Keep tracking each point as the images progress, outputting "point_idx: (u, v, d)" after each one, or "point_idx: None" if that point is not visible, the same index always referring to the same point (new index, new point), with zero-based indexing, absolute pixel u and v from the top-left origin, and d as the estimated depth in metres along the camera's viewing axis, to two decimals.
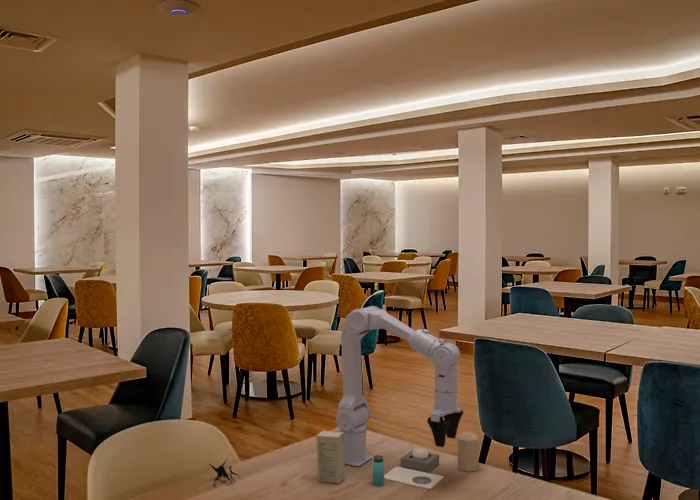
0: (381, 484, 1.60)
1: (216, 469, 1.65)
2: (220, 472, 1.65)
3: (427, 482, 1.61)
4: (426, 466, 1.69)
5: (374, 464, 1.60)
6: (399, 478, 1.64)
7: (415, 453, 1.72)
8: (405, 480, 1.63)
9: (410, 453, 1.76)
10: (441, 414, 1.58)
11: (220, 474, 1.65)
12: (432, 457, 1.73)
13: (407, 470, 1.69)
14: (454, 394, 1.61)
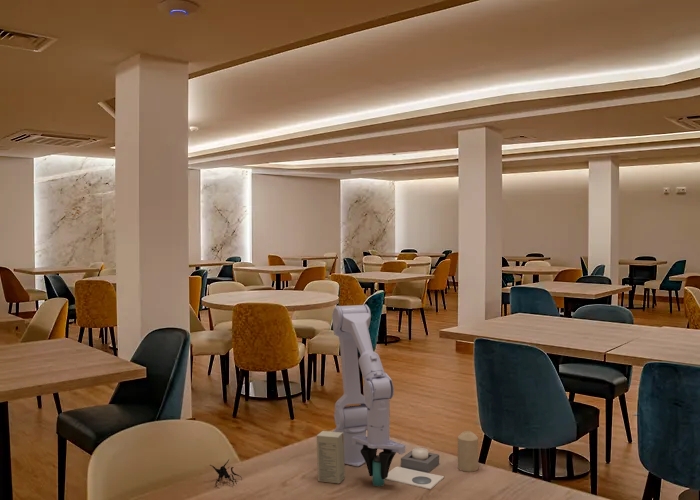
0: (381, 484, 1.60)
1: (217, 470, 1.64)
2: (221, 473, 1.64)
3: (427, 482, 1.61)
4: (426, 466, 1.69)
5: (374, 464, 1.60)
6: (399, 478, 1.64)
7: (415, 453, 1.72)
8: (405, 480, 1.63)
9: (410, 453, 1.76)
10: (357, 440, 1.63)
11: (221, 475, 1.64)
12: (432, 457, 1.73)
13: (407, 470, 1.69)
14: (370, 428, 1.59)
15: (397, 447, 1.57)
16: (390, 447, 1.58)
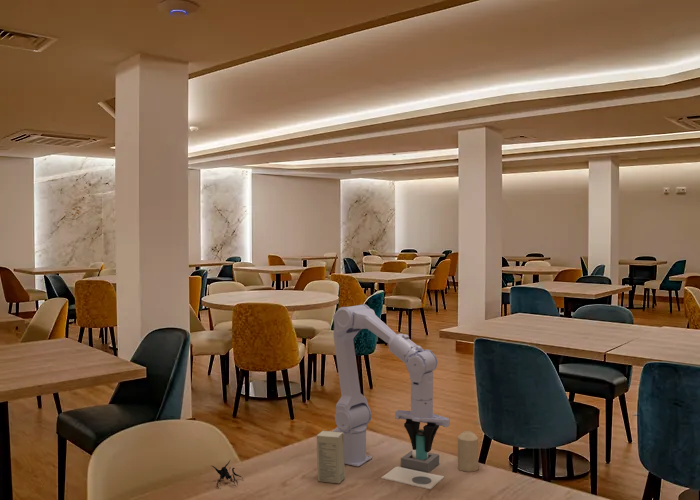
0: (425, 457, 1.61)
1: (219, 471, 1.64)
2: (223, 474, 1.64)
3: (427, 482, 1.61)
4: (426, 466, 1.69)
5: (417, 438, 1.61)
6: (399, 478, 1.64)
7: (415, 453, 1.72)
8: (405, 480, 1.63)
9: (410, 453, 1.76)
10: (400, 414, 1.64)
11: (223, 476, 1.64)
12: (432, 457, 1.73)
13: (407, 470, 1.69)
14: (414, 402, 1.60)
15: (441, 420, 1.58)
16: (434, 420, 1.59)
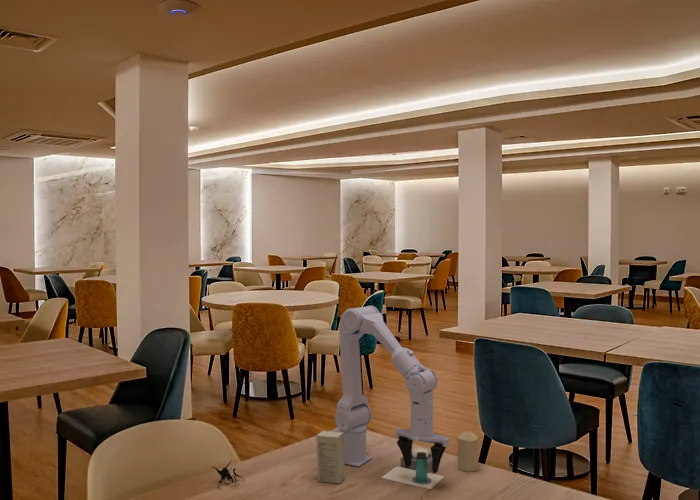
0: (425, 480, 1.61)
1: (219, 471, 1.63)
2: (224, 474, 1.63)
3: (427, 482, 1.61)
4: None
5: (417, 461, 1.61)
6: (399, 478, 1.64)
7: (415, 453, 1.72)
8: (405, 480, 1.63)
9: None
10: (400, 433, 1.64)
11: (224, 476, 1.63)
12: None
13: (407, 470, 1.69)
14: (414, 421, 1.60)
15: (441, 440, 1.58)
16: (434, 440, 1.59)
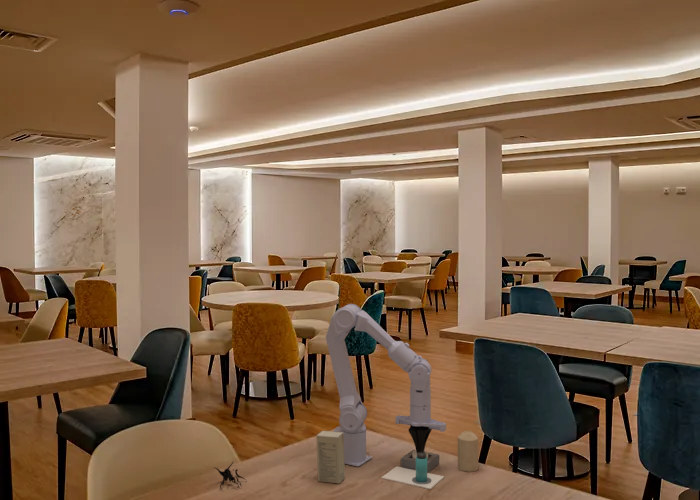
0: (425, 480, 1.61)
1: (222, 473, 1.62)
2: (226, 475, 1.62)
3: (427, 482, 1.61)
4: None
5: (417, 461, 1.61)
6: (399, 478, 1.64)
7: (415, 455, 1.72)
8: (405, 480, 1.63)
9: (410, 453, 1.76)
10: (400, 419, 1.75)
11: (226, 478, 1.62)
12: (432, 457, 1.73)
13: (407, 470, 1.69)
14: (413, 408, 1.72)
15: (439, 425, 1.70)
16: (432, 425, 1.70)
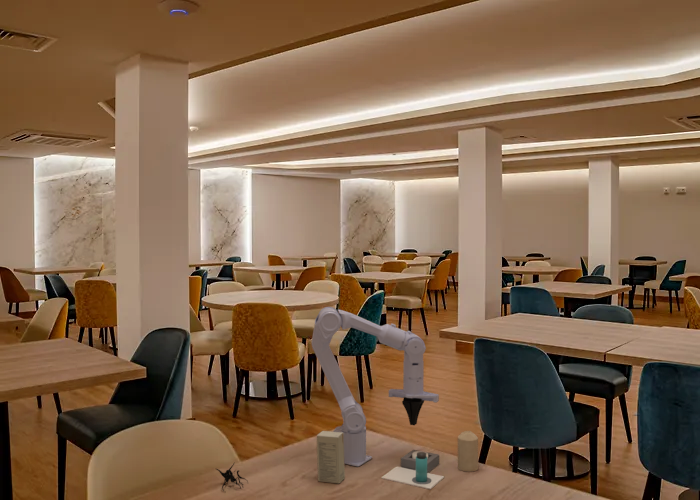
0: (425, 480, 1.61)
1: (223, 474, 1.62)
2: (227, 477, 1.62)
3: (427, 482, 1.61)
4: None
5: (417, 461, 1.61)
6: (399, 478, 1.64)
7: (415, 456, 1.72)
8: (405, 480, 1.63)
9: (410, 453, 1.76)
10: (393, 392, 1.80)
11: (227, 479, 1.62)
12: (432, 457, 1.73)
13: (407, 470, 1.69)
14: (407, 380, 1.77)
15: (432, 396, 1.75)
16: (426, 396, 1.76)
